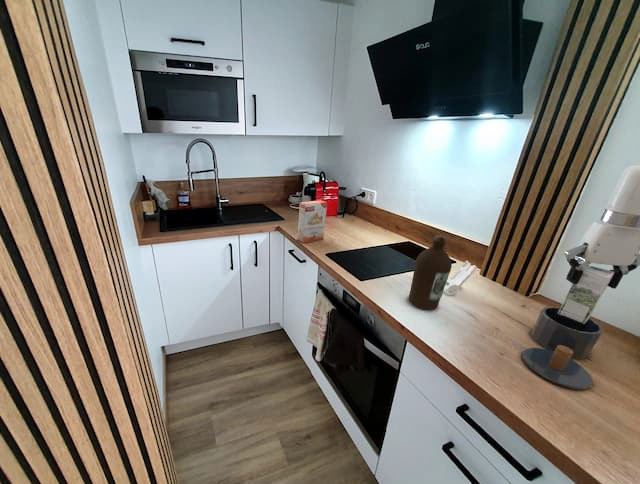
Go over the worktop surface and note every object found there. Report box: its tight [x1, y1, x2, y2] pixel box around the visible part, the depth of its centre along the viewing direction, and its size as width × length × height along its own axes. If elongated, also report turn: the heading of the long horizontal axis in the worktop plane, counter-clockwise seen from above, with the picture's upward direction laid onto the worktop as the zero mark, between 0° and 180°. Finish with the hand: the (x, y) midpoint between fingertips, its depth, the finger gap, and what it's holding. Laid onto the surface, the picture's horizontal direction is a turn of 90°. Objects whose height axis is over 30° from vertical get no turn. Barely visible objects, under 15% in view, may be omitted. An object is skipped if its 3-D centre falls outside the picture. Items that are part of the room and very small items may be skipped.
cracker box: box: [297, 200, 328, 244], centre depth 152 cm, size 14×6×21 cm, turn 120°
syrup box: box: [558, 264, 614, 324], centre depth 76 cm, size 6×6×14 cm
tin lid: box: [521, 345, 594, 390], centre depth 72 cm, size 13×13×7 cm
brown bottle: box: [408, 234, 452, 311], centre depth 95 cm, size 11×11×25 cm
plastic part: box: [443, 260, 478, 296], centre depth 107 cm, size 8×10×12 cm
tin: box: [530, 306, 604, 360], centre depth 81 cm, size 12×12×8 cm
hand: (590, 283), depth 75 cm, fingers closed on syrup box, 7 cm apart
